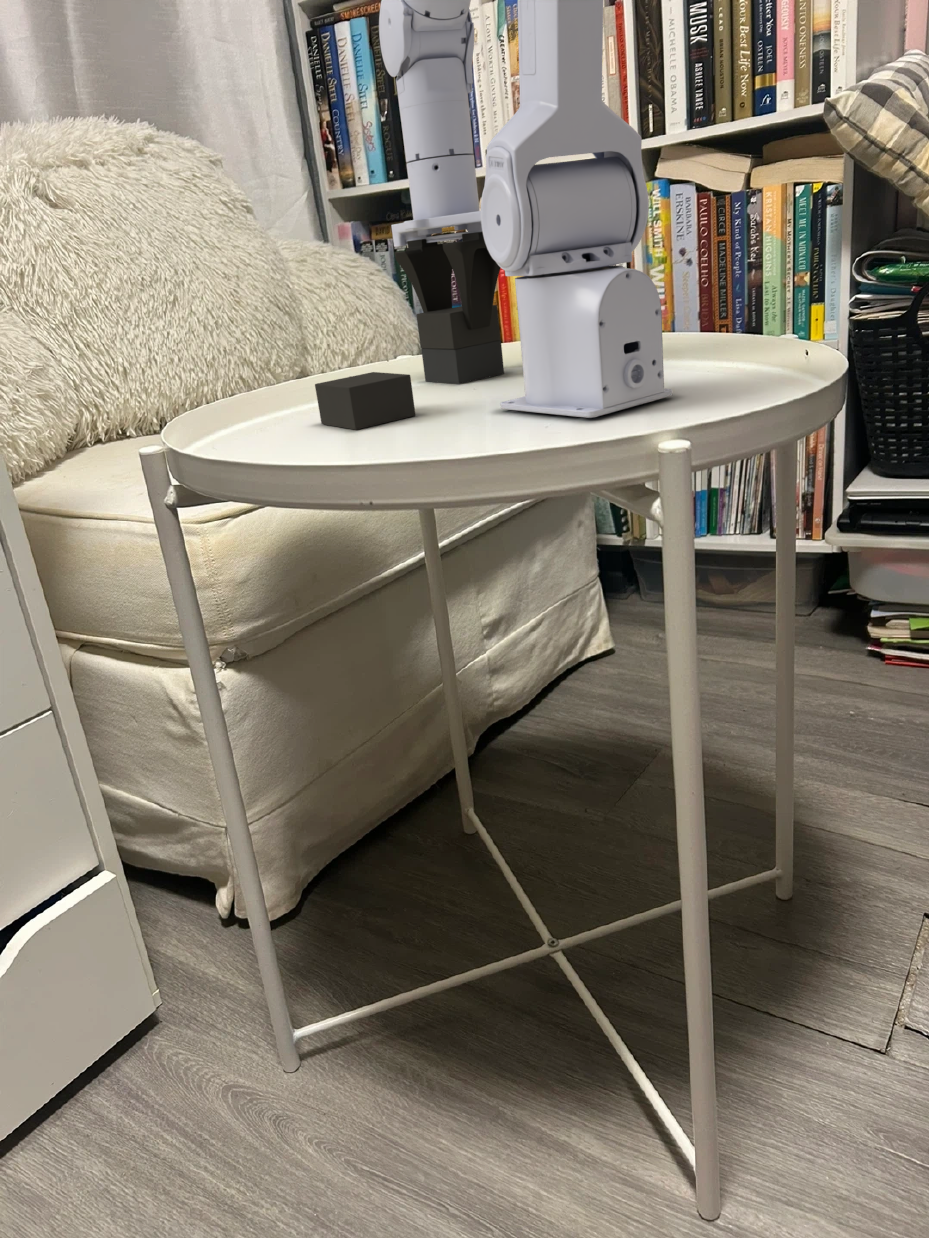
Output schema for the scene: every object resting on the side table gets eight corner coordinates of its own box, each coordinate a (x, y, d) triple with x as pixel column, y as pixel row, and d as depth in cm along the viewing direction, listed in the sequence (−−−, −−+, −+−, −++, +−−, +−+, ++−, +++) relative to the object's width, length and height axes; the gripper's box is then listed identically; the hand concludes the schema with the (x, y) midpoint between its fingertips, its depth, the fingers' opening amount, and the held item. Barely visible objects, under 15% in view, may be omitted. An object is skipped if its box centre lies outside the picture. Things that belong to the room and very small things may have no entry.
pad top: (416, 415, 70) (410, 374, 68) (355, 430, 67) (349, 387, 66) (379, 410, 74) (373, 371, 72) (321, 424, 71) (314, 384, 70)
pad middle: (500, 340, 84) (497, 304, 82) (453, 349, 81) (449, 313, 80) (466, 339, 88) (462, 306, 86) (420, 348, 85) (415, 313, 84)
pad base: (504, 374, 85) (501, 339, 84) (459, 384, 82) (455, 349, 81) (469, 372, 89) (466, 339, 88) (425, 382, 86) (420, 348, 85)
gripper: (355, 174, 82) (378, 334, 87) (453, 149, 71) (473, 335, 76) (420, 169, 86) (439, 323, 91) (524, 145, 75) (538, 322, 80)
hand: (459, 328), depth 84 cm, fingers closed on pad middle, 5 cm apart
